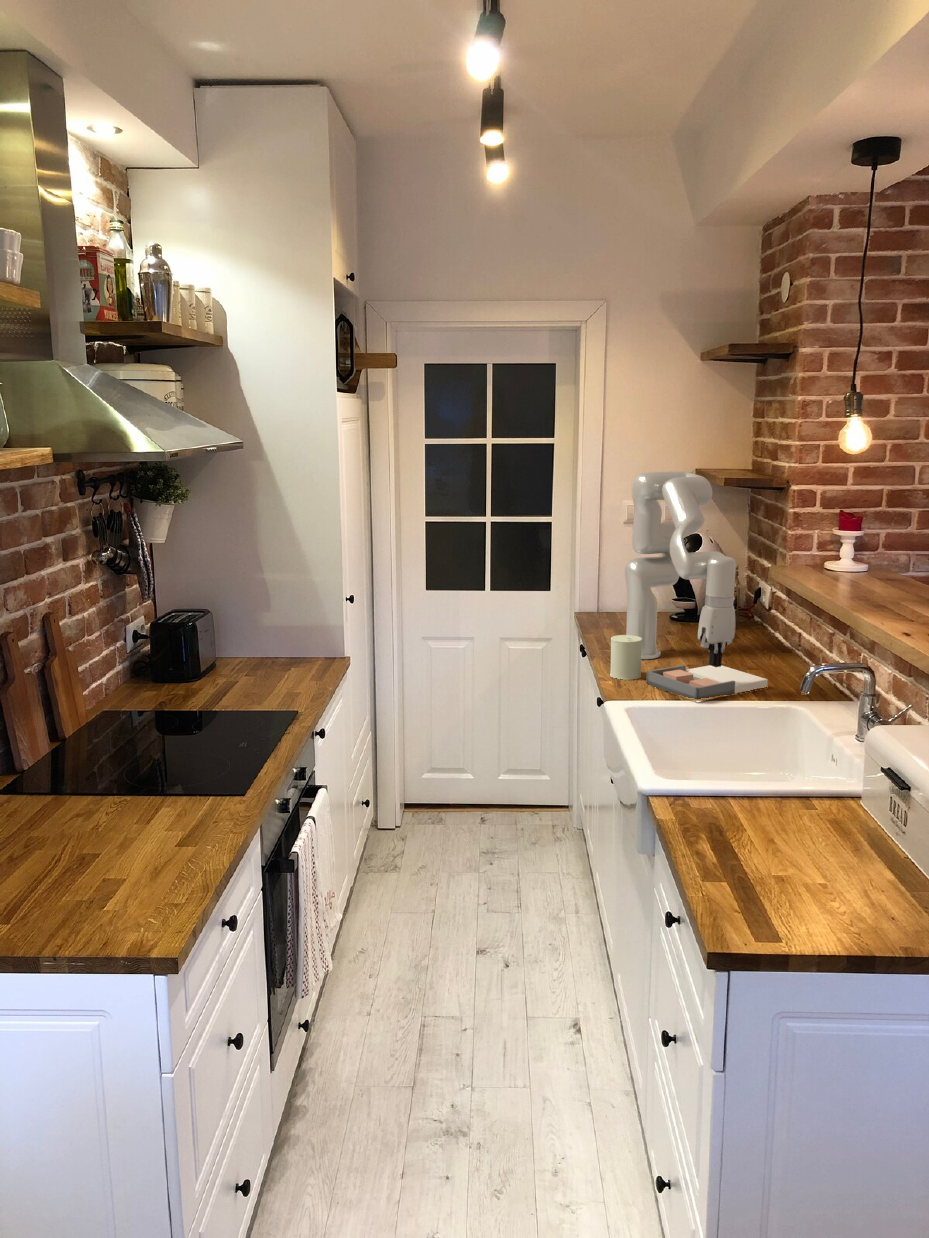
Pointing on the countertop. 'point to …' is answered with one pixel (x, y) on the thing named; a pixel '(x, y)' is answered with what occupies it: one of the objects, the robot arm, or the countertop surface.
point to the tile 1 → (679, 675)
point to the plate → (730, 677)
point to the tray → (687, 685)
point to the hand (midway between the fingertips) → (715, 665)
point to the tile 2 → (702, 682)
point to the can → (626, 657)
